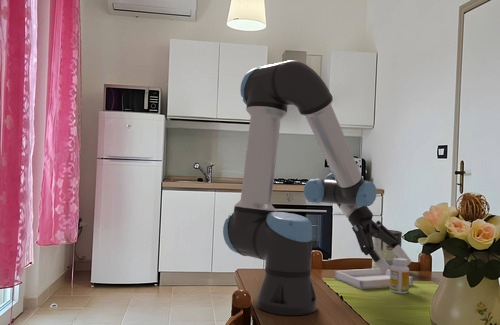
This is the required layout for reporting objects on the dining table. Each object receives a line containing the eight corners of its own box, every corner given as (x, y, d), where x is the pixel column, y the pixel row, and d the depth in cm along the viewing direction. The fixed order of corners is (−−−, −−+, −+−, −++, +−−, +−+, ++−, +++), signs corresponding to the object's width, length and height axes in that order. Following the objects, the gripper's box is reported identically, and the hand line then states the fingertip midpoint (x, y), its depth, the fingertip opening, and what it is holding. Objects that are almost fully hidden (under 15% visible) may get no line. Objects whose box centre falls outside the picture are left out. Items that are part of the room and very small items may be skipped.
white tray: (361, 289, 136) (361, 281, 136) (334, 278, 148) (334, 270, 148) (412, 285, 144) (413, 277, 144) (383, 275, 156) (383, 267, 156)
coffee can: (388, 266, 172) (389, 229, 172) (406, 272, 163) (408, 232, 163) (365, 267, 168) (366, 229, 169) (383, 273, 159) (384, 233, 159)
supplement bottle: (408, 290, 137) (409, 258, 137) (409, 295, 132) (410, 261, 132) (389, 288, 138) (390, 256, 138) (389, 292, 133) (390, 259, 133)
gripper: (369, 217, 158) (408, 268, 148) (326, 221, 141) (367, 280, 130) (384, 203, 155) (425, 255, 144) (341, 206, 137) (384, 265, 126)
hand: (397, 267), depth 137 cm, fingers open, 13 cm apart
